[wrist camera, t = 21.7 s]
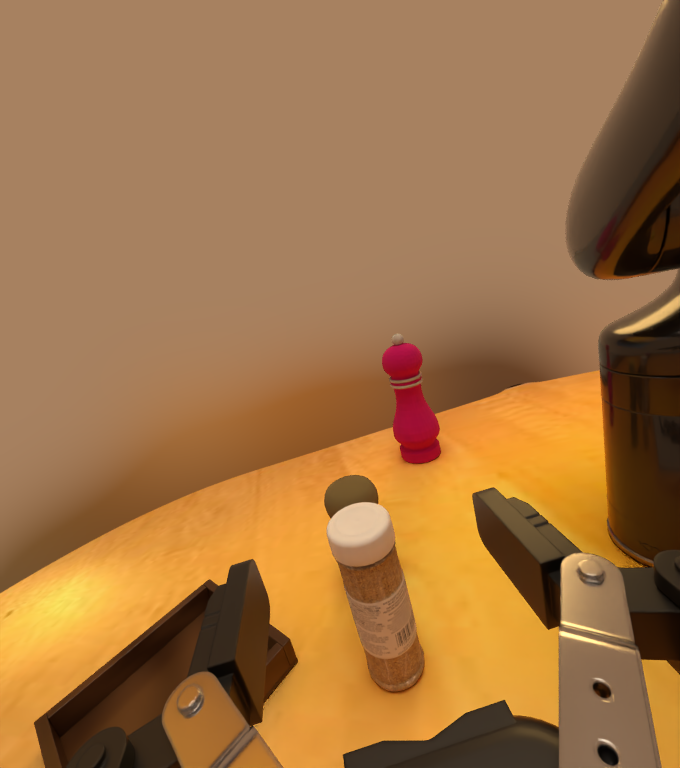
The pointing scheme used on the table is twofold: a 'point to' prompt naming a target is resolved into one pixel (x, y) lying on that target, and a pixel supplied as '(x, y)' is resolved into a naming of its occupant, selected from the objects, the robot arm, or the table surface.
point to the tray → (142, 681)
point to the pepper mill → (411, 403)
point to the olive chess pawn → (349, 493)
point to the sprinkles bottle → (377, 593)
